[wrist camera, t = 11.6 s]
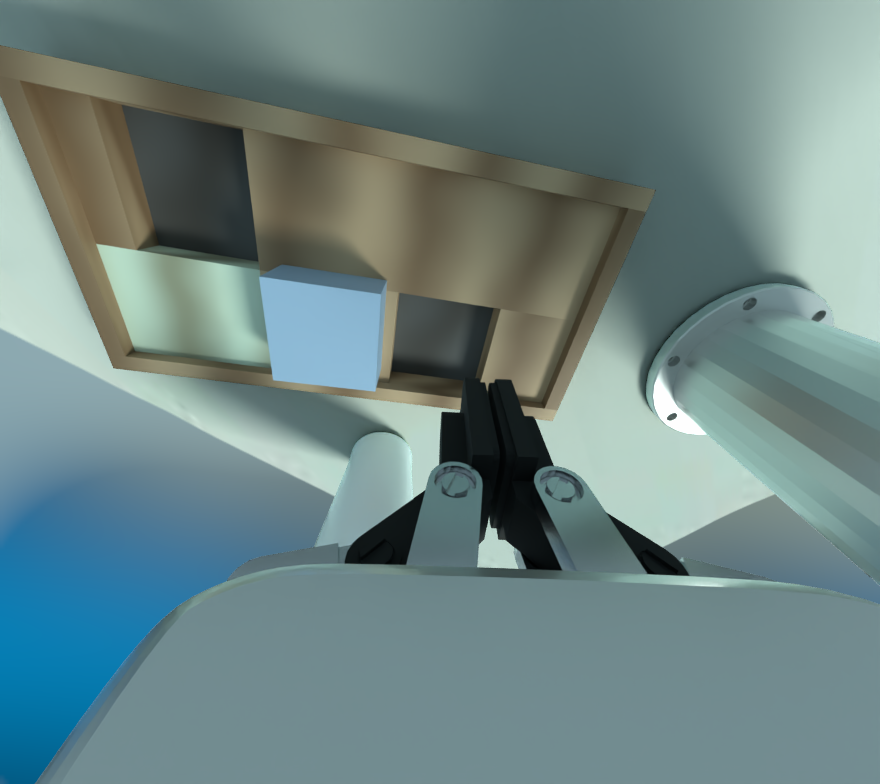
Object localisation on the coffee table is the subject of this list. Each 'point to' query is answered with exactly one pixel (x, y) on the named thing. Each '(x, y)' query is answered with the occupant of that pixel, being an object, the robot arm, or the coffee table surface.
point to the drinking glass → (369, 488)
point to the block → (324, 326)
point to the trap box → (313, 233)
